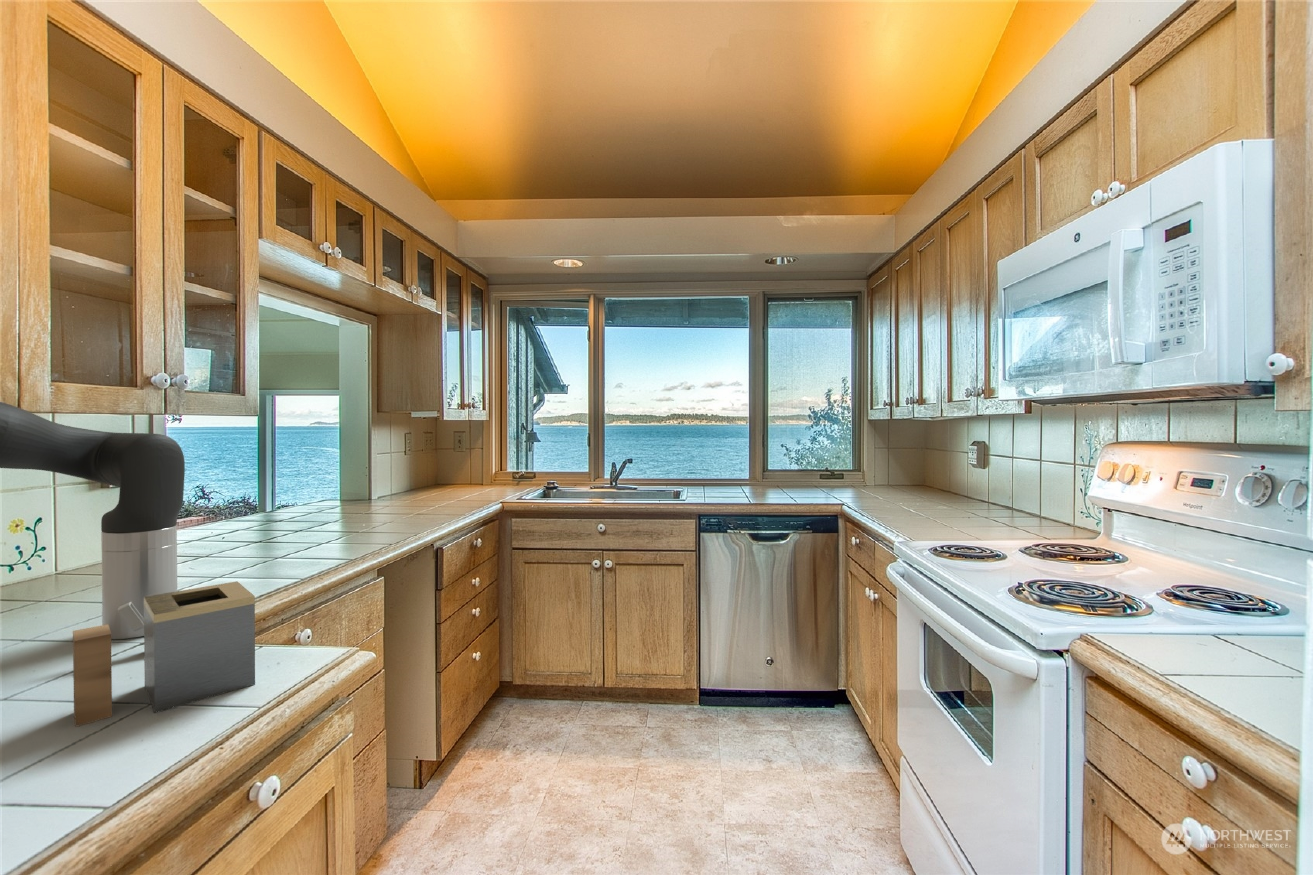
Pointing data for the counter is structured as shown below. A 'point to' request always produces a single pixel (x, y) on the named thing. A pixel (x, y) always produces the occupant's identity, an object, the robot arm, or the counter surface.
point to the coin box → (198, 644)
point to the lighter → (132, 616)
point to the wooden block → (92, 674)
